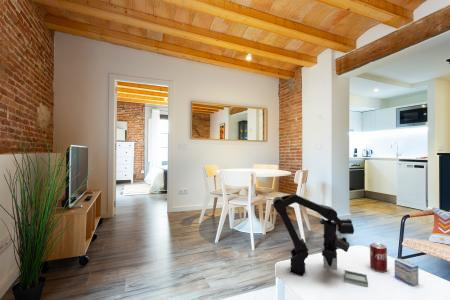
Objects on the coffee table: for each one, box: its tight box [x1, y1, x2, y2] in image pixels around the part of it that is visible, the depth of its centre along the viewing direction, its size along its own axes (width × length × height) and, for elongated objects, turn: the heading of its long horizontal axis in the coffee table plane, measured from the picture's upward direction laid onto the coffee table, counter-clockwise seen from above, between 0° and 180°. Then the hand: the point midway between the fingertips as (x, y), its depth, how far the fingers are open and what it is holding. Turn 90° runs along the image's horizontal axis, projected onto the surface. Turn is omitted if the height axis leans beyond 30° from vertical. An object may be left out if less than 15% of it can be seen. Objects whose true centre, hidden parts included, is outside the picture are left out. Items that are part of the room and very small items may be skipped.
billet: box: [322, 256, 338, 271], centre depth 112 cm, size 6×4×7 cm, turn 62°
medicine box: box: [394, 258, 420, 287], centre depth 106 cm, size 8×4×9 cm, turn 21°
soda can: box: [369, 242, 388, 273], centre depth 116 cm, size 7×7×12 cm
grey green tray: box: [344, 270, 369, 288], centre depth 106 cm, size 9×7×2 cm
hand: (330, 264), depth 112 cm, fingers closed on billet, 4 cm apart
